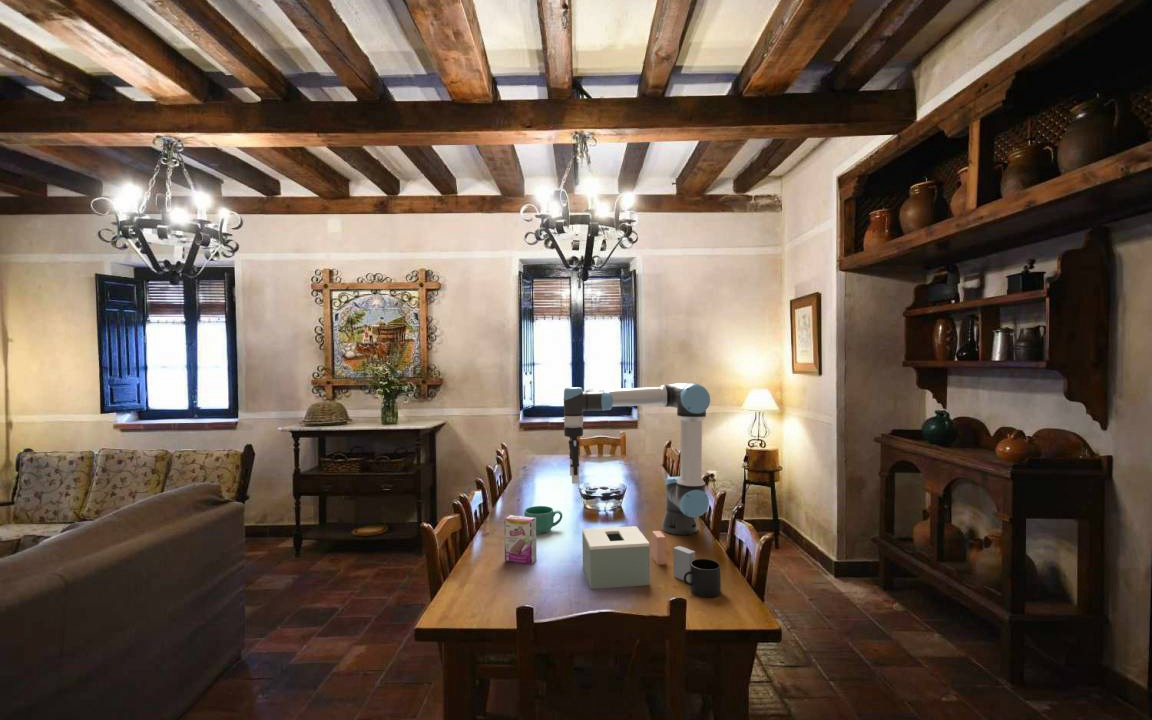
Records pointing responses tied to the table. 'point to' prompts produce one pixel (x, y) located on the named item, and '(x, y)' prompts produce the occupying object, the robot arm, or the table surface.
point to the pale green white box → (615, 557)
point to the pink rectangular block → (658, 547)
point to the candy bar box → (520, 539)
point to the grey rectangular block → (682, 562)
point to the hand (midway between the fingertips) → (574, 479)
